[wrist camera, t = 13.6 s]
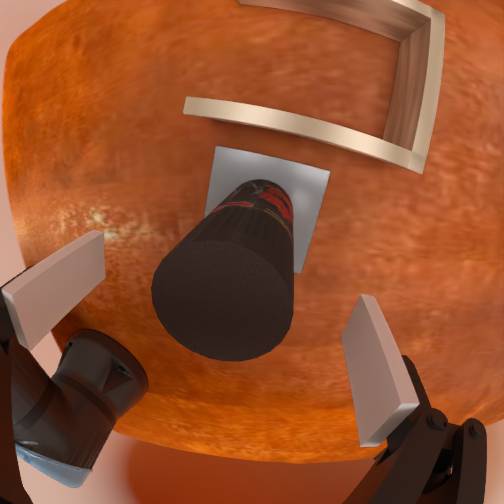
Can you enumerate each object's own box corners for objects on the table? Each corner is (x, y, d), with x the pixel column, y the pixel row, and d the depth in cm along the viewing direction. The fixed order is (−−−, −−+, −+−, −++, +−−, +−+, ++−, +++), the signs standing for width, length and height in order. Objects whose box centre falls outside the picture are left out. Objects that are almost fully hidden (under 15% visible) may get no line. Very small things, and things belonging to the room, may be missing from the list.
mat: (201, 246, 28) (199, 249, 27) (217, 145, 23) (216, 145, 23) (300, 271, 27) (300, 274, 27) (329, 170, 23) (330, 171, 22)
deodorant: (218, 189, 24) (129, 258, 11) (283, 171, 23) (271, 222, 9) (238, 249, 26) (184, 365, 13) (300, 235, 25) (305, 352, 11)
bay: (212, 119, 23) (182, 113, 16) (242, -5, 17) (226, -42, 11) (389, 163, 22) (421, 174, 15) (412, 38, 16) (444, 14, 10)
